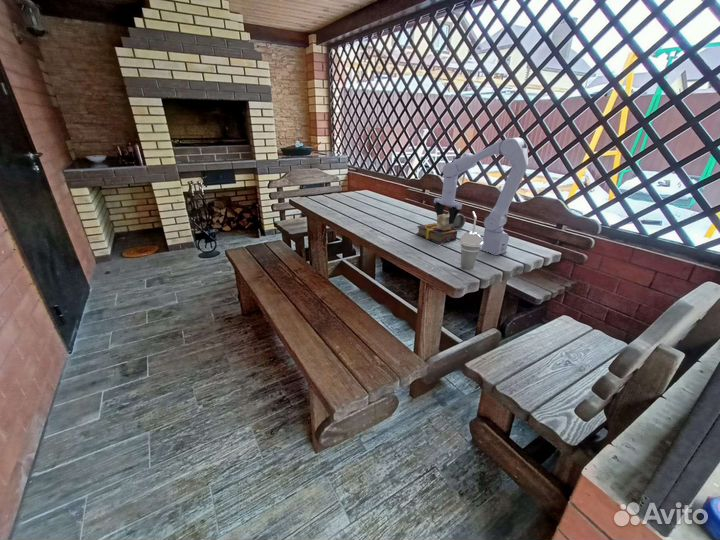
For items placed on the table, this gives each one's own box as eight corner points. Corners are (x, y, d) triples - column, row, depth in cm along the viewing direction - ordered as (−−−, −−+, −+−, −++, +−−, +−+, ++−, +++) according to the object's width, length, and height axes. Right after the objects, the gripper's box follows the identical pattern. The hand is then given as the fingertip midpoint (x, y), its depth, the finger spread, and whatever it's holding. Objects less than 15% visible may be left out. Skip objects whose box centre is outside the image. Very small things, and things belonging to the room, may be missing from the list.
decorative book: (434, 231, 162) (435, 221, 160) (458, 241, 149) (460, 230, 147) (416, 235, 157) (417, 224, 154) (440, 245, 144) (441, 234, 142)
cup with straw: (451, 268, 121) (459, 215, 112) (459, 260, 127) (467, 210, 119) (475, 274, 116) (485, 219, 108) (482, 266, 123) (491, 213, 115)
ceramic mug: (454, 224, 173) (456, 209, 169) (464, 228, 166) (466, 213, 162) (437, 226, 169) (438, 212, 166) (447, 231, 162) (448, 216, 159)
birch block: (450, 228, 149) (452, 216, 147) (443, 230, 147) (445, 217, 144) (443, 226, 153) (444, 213, 150) (436, 228, 150) (437, 215, 148)
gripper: (430, 189, 146) (427, 219, 152) (455, 195, 135) (451, 227, 141) (441, 187, 150) (438, 216, 155) (467, 193, 139) (462, 224, 144)
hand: (445, 221), depth 148 cm, fingers open, 6 cm apart
